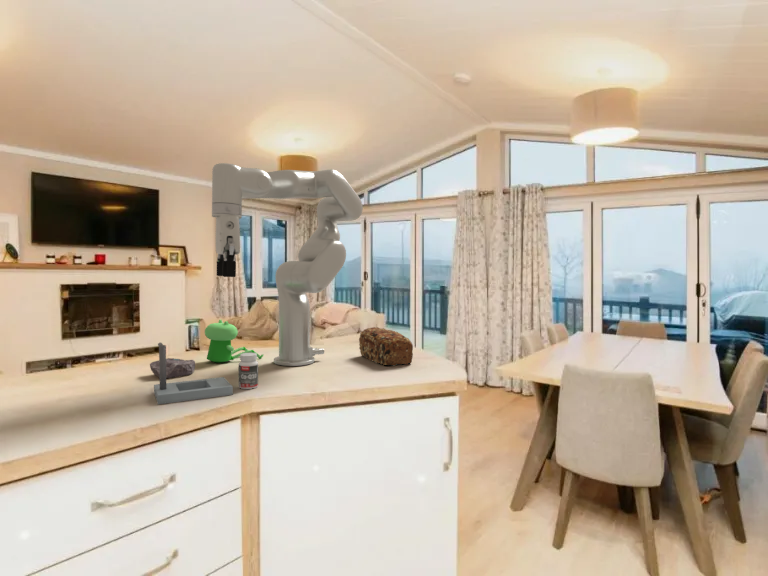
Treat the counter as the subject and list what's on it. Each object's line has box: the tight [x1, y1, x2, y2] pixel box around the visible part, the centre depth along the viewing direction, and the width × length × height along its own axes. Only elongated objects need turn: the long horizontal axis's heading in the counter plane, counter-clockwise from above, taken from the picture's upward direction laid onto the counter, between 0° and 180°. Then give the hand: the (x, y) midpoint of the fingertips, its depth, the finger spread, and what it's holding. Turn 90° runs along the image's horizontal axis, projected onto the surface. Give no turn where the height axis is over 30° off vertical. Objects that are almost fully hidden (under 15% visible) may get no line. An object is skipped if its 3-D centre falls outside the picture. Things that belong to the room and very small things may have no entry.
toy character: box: [204, 319, 264, 364], centre depth 148 cm, size 10×18×13 cm, turn 131°
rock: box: [149, 357, 196, 379], centre depth 129 cm, size 8×11×5 cm
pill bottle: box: [238, 352, 259, 390], centre depth 118 cm, size 5×5×8 cm
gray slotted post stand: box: [153, 342, 234, 405], centre depth 111 cm, size 16×10×12 cm, turn 121°
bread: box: [358, 326, 414, 366], centre depth 152 cm, size 19×11×10 cm, turn 28°
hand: (225, 276), depth 125 cm, fingers open, 9 cm apart
